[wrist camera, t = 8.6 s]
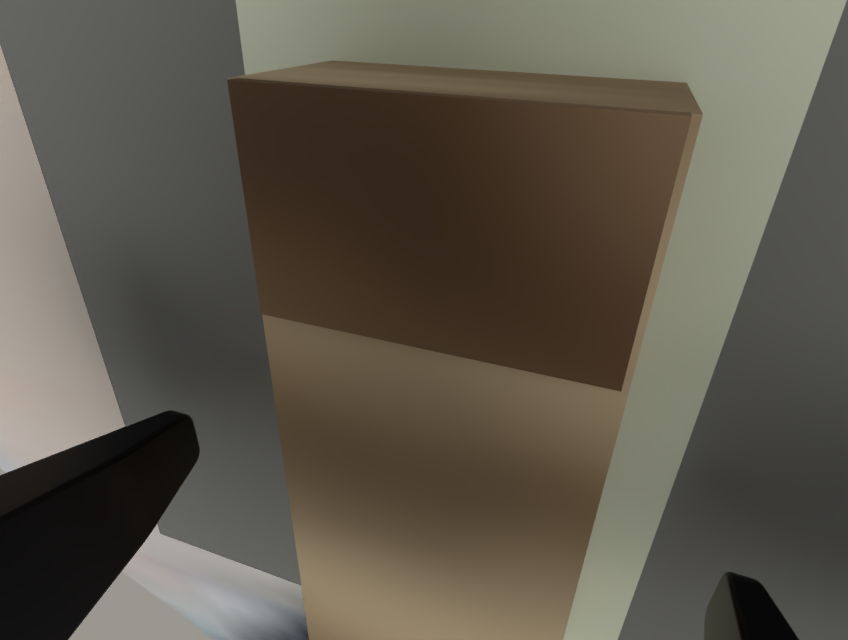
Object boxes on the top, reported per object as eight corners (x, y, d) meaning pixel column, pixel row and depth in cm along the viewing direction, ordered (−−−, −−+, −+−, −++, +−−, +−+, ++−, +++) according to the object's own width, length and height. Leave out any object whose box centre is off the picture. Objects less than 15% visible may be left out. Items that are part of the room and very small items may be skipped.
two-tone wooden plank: (552, 631, 13) (532, 757, 11) (359, 565, 14) (308, 664, 12) (686, 82, 7) (705, 116, 5) (331, 60, 8) (220, 78, 6)
